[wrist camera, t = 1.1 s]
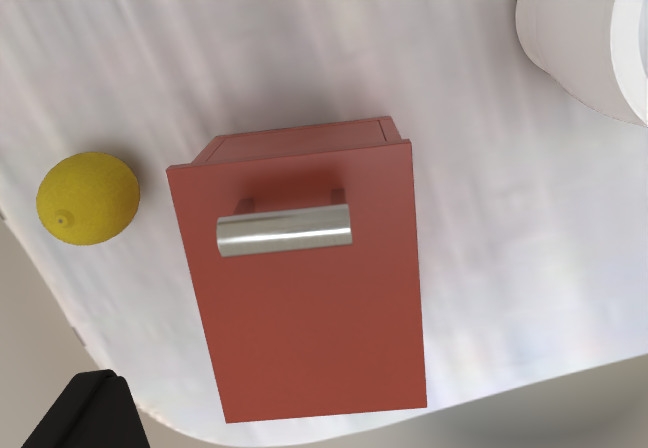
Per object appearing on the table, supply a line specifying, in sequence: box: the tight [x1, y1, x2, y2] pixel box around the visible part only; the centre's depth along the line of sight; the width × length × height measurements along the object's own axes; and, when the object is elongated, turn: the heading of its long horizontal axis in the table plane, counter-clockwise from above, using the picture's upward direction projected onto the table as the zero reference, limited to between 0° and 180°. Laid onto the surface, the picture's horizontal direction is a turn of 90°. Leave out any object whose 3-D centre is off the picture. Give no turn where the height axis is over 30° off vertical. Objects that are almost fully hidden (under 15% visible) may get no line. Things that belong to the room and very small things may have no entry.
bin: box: [192, 116, 402, 163], centre depth 34 cm, size 15×12×10 cm
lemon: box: [36, 152, 140, 245], centre depth 34 cm, size 6×6×8 cm
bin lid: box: [166, 139, 427, 423], centre depth 26 cm, size 16×12×6 cm
